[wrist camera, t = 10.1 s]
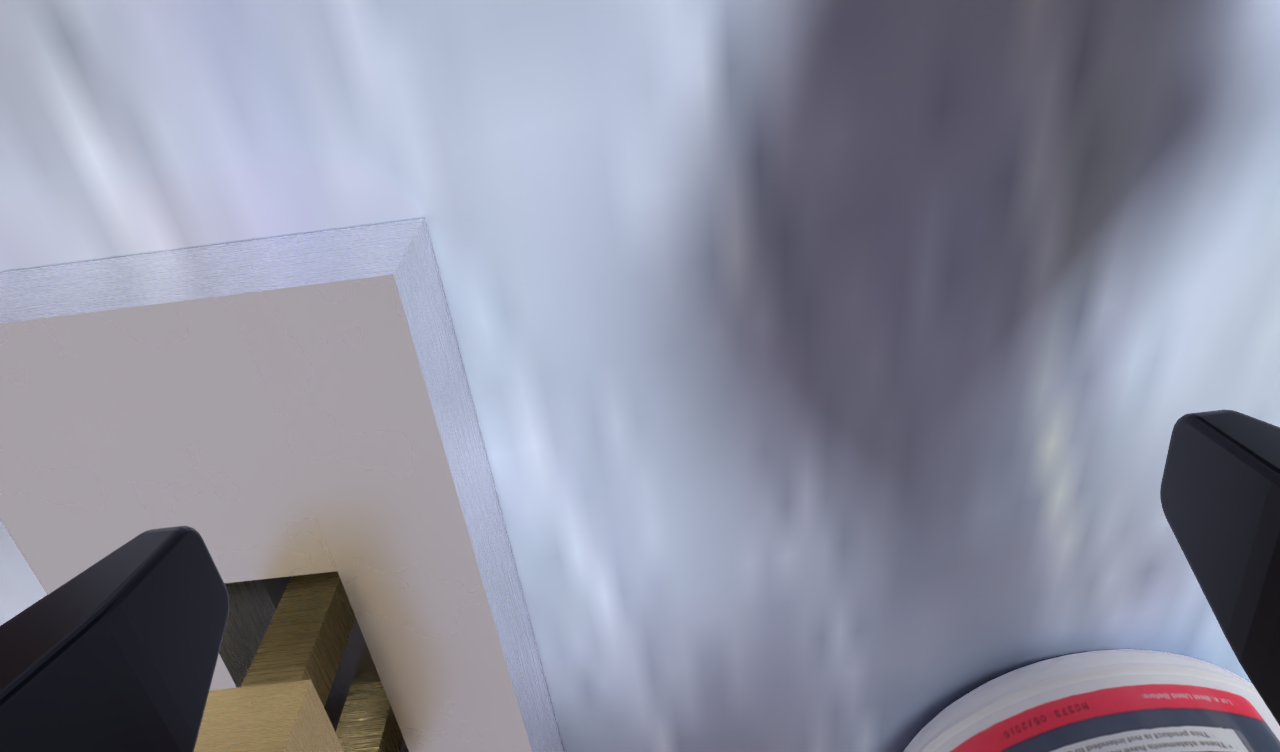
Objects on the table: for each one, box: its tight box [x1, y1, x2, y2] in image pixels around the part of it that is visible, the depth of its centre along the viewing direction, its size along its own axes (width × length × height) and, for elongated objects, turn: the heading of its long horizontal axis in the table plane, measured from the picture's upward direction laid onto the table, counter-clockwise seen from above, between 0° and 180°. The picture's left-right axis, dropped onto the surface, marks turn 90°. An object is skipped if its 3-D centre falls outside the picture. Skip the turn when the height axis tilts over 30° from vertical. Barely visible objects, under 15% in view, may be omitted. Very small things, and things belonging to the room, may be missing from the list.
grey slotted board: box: [0, 218, 564, 752], centre depth 24 cm, size 10×24×3 cm, turn 7°
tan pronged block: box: [194, 571, 403, 752], centre depth 22 cm, size 2×7×7 cm, turn 8°
